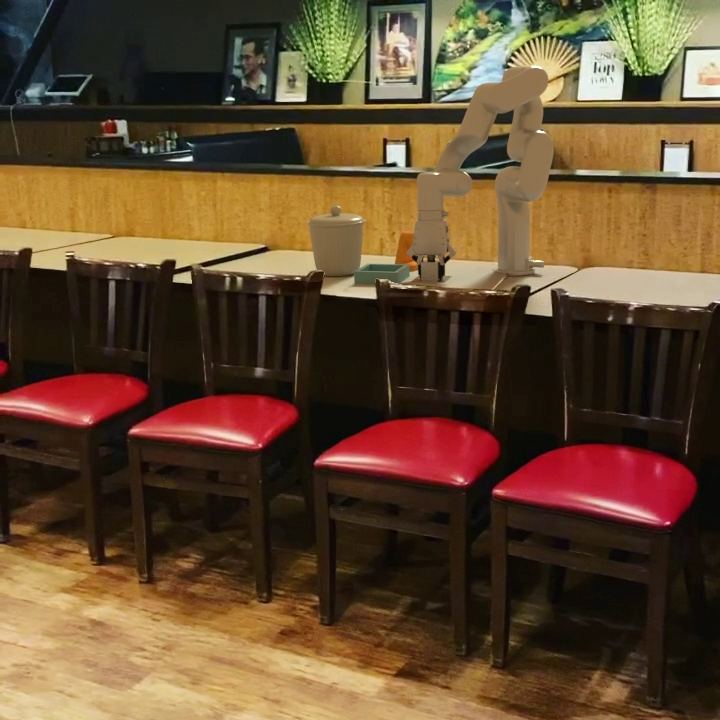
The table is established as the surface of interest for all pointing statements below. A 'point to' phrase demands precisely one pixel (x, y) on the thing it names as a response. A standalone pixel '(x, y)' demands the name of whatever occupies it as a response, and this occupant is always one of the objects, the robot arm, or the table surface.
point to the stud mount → (432, 280)
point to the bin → (381, 273)
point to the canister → (337, 242)
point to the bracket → (403, 247)
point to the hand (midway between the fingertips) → (431, 277)
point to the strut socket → (430, 268)
